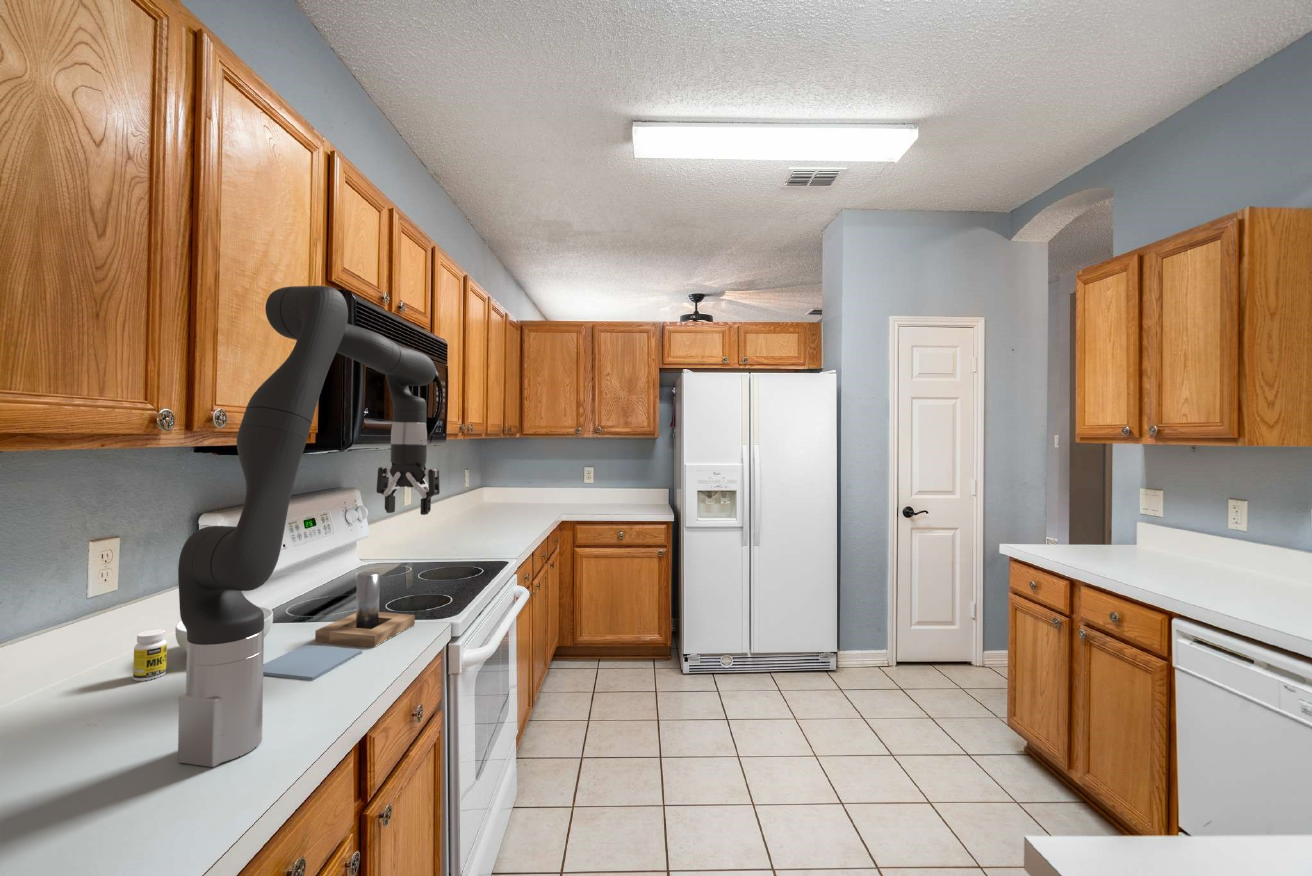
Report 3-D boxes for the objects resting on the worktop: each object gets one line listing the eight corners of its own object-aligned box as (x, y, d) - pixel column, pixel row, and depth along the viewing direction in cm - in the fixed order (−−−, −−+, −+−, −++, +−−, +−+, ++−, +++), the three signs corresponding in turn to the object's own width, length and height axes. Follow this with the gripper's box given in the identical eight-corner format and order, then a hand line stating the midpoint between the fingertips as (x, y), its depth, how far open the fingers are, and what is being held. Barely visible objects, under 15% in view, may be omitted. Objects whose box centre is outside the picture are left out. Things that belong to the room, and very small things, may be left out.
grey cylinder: (370, 639, 130) (371, 578, 130) (344, 636, 132) (345, 576, 132) (389, 629, 137) (390, 571, 137) (364, 627, 138) (365, 569, 138)
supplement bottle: (146, 683, 106) (147, 638, 106) (126, 680, 107) (127, 635, 107) (172, 672, 111) (173, 629, 111) (153, 670, 112) (154, 627, 112)
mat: (312, 680, 109) (312, 677, 109) (249, 673, 111) (249, 670, 111) (362, 652, 122) (362, 650, 122) (305, 647, 125) (305, 644, 125)
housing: (374, 647, 126) (375, 636, 126) (315, 641, 128) (315, 630, 128) (414, 625, 141) (414, 615, 141) (360, 620, 143) (360, 610, 143)
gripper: (370, 441, 127) (368, 514, 127) (428, 443, 124) (426, 517, 124) (391, 441, 134) (389, 510, 134) (446, 443, 132) (445, 512, 132)
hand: (407, 513), depth 129 cm, fingers open, 8 cm apart
